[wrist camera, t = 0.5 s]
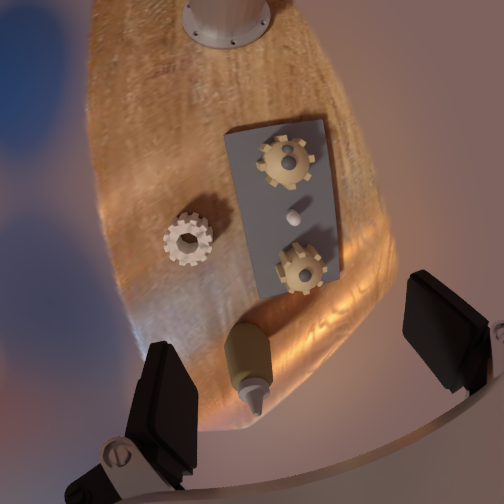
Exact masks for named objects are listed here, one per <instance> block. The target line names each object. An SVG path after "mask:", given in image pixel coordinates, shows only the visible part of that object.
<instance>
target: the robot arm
mask: <svg viewBox="0 0 504 504" xmlns="http://www.w3.org/2000/svg"><path fill="white" fill-rule="evenodd" d="M189 7H190V8H189ZM270 18H271V14H270V8H269V5H268V3H267V2H266V0H188V1H187V3H186V4H185V6H184V8H183V12H182V23H183V27H184V29H185V31H186V33H187V34H188V35H189V36H190V38H192V39H193V40H194V41H195V42H197V43H199V44H201V45H203V46H206V47H209V48H214V49H236V48H240V47H243V46H246V45H248V44H250V43H252V42H254V41H255V40H257V39H258V38H259V37H260V36H261V35H263V33H264V32H265V30H266V29H267V27H268V25H269V22H270ZM261 24H264V25H261ZM196 34H197V36H194V35H196ZM232 43H235V45H232ZM488 323H489V321H488V320H487V319H486V318H484V317H483V316H482V315H481V314H480V313H479V312H477V311H476V310H475V309H474V308H473V307H472V306H470V305H469V304H468V303H467V302H465V301H464V300H463V299H462V298H460V297H459V296H458V295H457V294H456V293H454V292H453V291H452V290H450V289H449V288H448V287H447V286H445V285H444V284H443V283H442V282H440V281H439V280H438V279H436V278H435V277H434V276H432V275H431V274H430V273H428V272H427V271H425V270H420V271H417V272H415V273H412V274H411V275H410V278H409V279H408V281H407V293H406V304H405V313H404V321H403V330H402V331H403V335H404V337H405V338H406V340H407V341H408V342H409V343H410V344H411V346H412V347H413V348H414V349H415V350H416V352H417V353H418V354H419V355H420V357H421V358H422V359H423V360H424V362H425V363H426V364H427V366H428V367H429V368H430V369H431V371H432V372H433V373H434V374H435V376H436V377H437V378H438V380H439V381H440V382H441V384H442V385H443V386H444V387H445V388H446V389H449V390H450V391H451V392H452V394H453V393H454V392H456V391H457V390H459V389H460V388H462V386H464V387H465V389H466V392H465V400H464V401H463V402H461V403H460V404H458V405H457V406H455V407H454V408H452V409H451V410H449V411H448V412H446V413H444V414H443V415H441V416H439V417H438V418H436V419H435V420H433V421H431V422H429V423H428V424H426V425H424V426H423V427H420V428H419V429H417V430H415V431H413V432H411V433H409V434H407V435H405V436H403V437H401V438H399V439H397V440H395V441H393V442H391V443H389V444H386V445H384V446H382V447H379V448H377V449H375V450H372V451H370V452H367V453H365V454H363V455H360V456H357V457H355V458H352V459H349V460H346V461H343V462H340V463H337V464H334V465H331V466H328V467H325V468H321V469H318V470H314V471H311V472H307V473H303V474H299V475H295V476H291V477H287V478H281V479H277V480H271V481H266V482H260V483H253V484H247V485H239V486H231V487H222V488H209V489H192V490H188V489H187V488H186V487H185V486H184V485H183V484H182V483H181V482H182V478H183V475H193V468H196V467H197V426H198V391H197V388H196V386H195V385H194V383H193V381H192V379H191V378H190V376H189V374H188V372H187V371H186V369H185V367H184V365H183V363H182V362H181V360H180V358H179V356H178V354H177V352H176V351H175V349H174V347H173V345H172V344H168V343H167V342H166V341H161V342H155V343H151V344H150V346H149V350H148V353H147V357H146V360H145V364H144V368H143V372H142V375H141V378H140V379H139V380H138V383H137V386H136V390H135V394H134V398H133V402H132V406H131V410H130V414H129V418H128V423H127V427H126V432H125V436H124V437H120V436H118V437H113V438H111V439H109V440H108V441H107V442H106V443H104V445H103V446H102V447H101V450H100V453H99V459H100V462H101V463H100V464H98V465H97V466H96V467H94V468H93V469H91V470H90V471H89V472H87V473H86V474H84V475H83V476H81V477H80V478H78V479H77V480H75V481H74V482H72V483H71V484H70V485H69V486H68V487H67V489H66V491H65V502H66V504H504V320H502V321H497V322H495V323H494V324H493V325H492V326H491V328H489V327H488Z"/></svg>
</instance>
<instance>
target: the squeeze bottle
mask: <svg viewBox="0 0 504 504" xmlns="http://www.w3.org/2000/svg"><path fill="white" fill-rule="evenodd" d="M224 349H225V354H226V359H227V364H228V369H229V374H230V379H231V384H232V387H233V388H234V389H235V390H237V391H238V395H239V398H240V399H241V400H242V401H245V402H248V404H249V407H250V409H251V411H252V414H253V415H254V416H260V415H261V413H262V403H263V400H264V399H266V398H267V397H268V396H269V394H270V390H269V386H270V385H271V383H272V382H273V373H272V362H271V351H270V341H269V339H268V338H267V336H266V335H265V334H264V333H263V331H262V330H261V329H260V328H259V327H258V326H257V325H255V324H253V323H248V322H246V323H240V324H238V325H235V326H234V327H233V328H232V329H231V331H230V333H229V335H228V338H227V340H226V342H225V345H224Z"/></svg>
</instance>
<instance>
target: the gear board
mask: <svg viewBox="0 0 504 504" xmlns="http://www.w3.org/2000/svg"><path fill="white" fill-rule="evenodd" d="M223 136H224V140H225V145H226V149H227V154H228V158H229V163H230V168H231V172H232V177H233V181H234V186H235V190H236V195H237V199H238V204H239V208H240V213H241V217H242V222H243V226H244V231H245V235H246V240H247V244H248V249H249V253H250V258H251V262H252V267H253V271H254V276H255V280H256V285H257V289H258V294H259V298H260V299H262V298H267V297H271V296H275V295H279V294H284V293H288V292H289V293H291V294H293V293H294V292H295V291H302V292H303V294H304V295H307V294H310V292H309V290H310V289H312V288H314V287H315V286H316V285H317V286H319V287H321V285H322V284H323V283H327V282H331V281H335V280H338V279H340V270H339V252H338V237H337V225H336V214H335V204H334V194H333V186H332V178H331V170H330V163H329V156H328V149H327V143H326V136H325V130H324V125H323V119H321V120H311V121H303V122H295V123H288V124H281V125H275V126H268V127H263V128H257V129H251V130H246V131H241V132H236V133H231V134H227V135H223Z"/></svg>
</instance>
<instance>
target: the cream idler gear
mask: <svg viewBox="0 0 504 504" xmlns="http://www.w3.org/2000/svg"><path fill="white" fill-rule="evenodd" d="M198 216H199V213H195V212H193V214H192V215H189V216H188V213H187V212H185V213H181V215H180V217H179V218H178V217H177V216H176V217H175V218H174V219H173V220H172V222H171V224H170V225H169V227H168V229H167V231H166V233H165V235H164V239H163V240H164V241H166V243H165V245H164V249H165V252H168V251H170V256H169V258H170V259H171V260H173V261H175V260H176V259H178V260H180V263H179V265H183V266H185V265H186V263H190V264H191V266H194V265H197V264H198V261H199V260H201V261H202V262H203V261H204V260H206V259H207V256H208V252H209V253H211V250H212V243H213V230H212V226H209V227H208V222H209V221H208V220H207V219H206V218H205V217H203V218H202V219H200V218H198ZM185 233H191V234H192V235H194V236H196V237H197V240H198V241H197V242H195V243H191V244H189V243H187V242H185V241H183V240H182V238H181V234H185Z"/></svg>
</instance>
